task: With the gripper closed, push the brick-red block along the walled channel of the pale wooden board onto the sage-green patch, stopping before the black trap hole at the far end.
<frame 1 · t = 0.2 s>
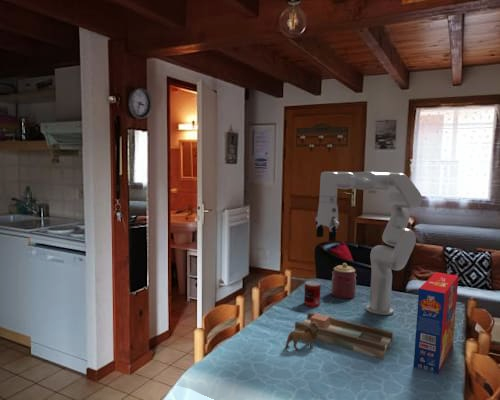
hand: (325, 238, 172), 37 cm above the table, tool pointing down, fingers open, 9 cm apart
channel board: (342, 339, 155), on the table
block: (320, 326, 160), point 3 cm above the table, touching channel board
lion figurine: (302, 347, 148), on the table
canned food: (311, 304, 194), on the table
canister: (343, 295, 210), on the table
pasta box: (434, 356, 144), on the table
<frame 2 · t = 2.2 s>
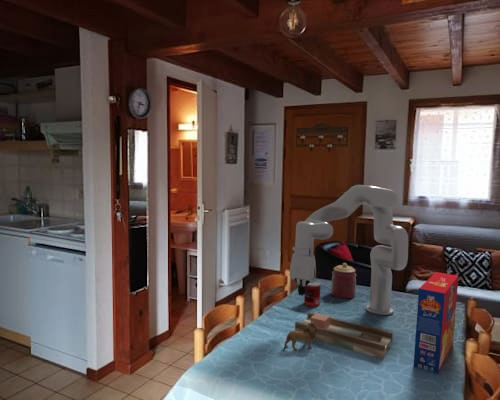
hand: (301, 294, 163), 15 cm above the table, tool pointing down, fingers closed
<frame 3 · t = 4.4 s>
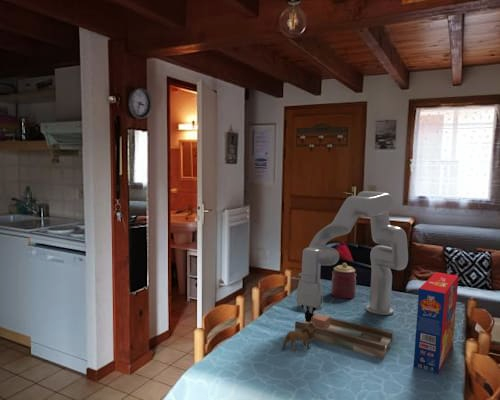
hand: (308, 320, 163), 4 cm above the table, tool pointing down, fingers closed
block: (320, 326, 160), point 3 cm above the table, touching channel board, gripper
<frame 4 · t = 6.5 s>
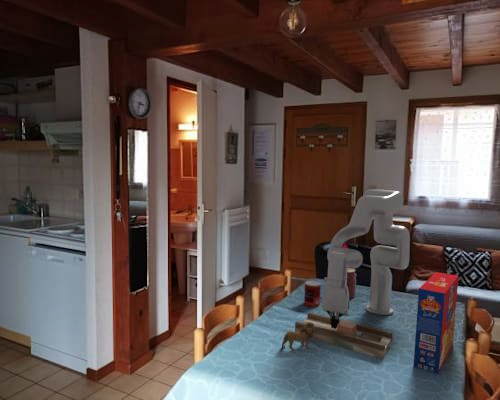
hand: (334, 327, 157), 4 cm above the table, tool pointing down, fingers closed
block: (346, 333, 154), point 3 cm above the table, touching gripper
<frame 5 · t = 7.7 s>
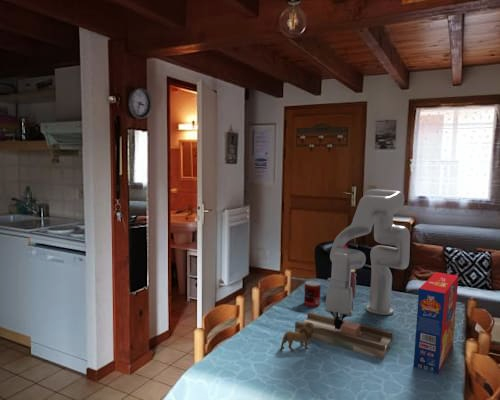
hand: (338, 328, 156), 4 cm above the table, tool pointing down, fingers closed
block: (350, 334, 153), point 3 cm above the table, touching channel board, gripper
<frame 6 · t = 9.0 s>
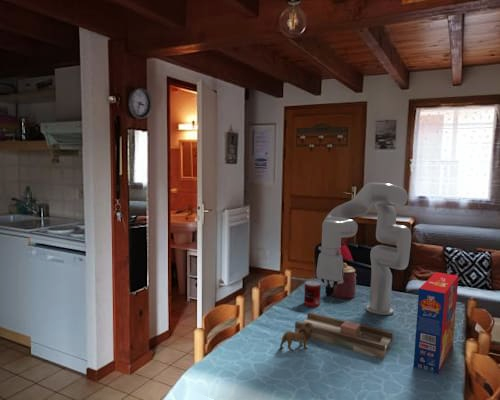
hand: (329, 295, 158), 17 cm above the table, tool pointing down, fingers closed
block: (350, 334, 153), point 3 cm above the table, touching channel board
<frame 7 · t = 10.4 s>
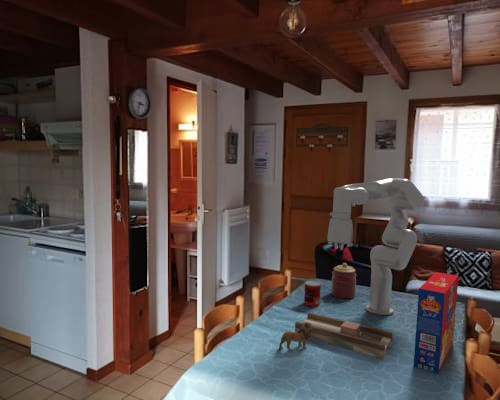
hand: (339, 258, 169), 29 cm above the table, tool pointing down, fingers closed
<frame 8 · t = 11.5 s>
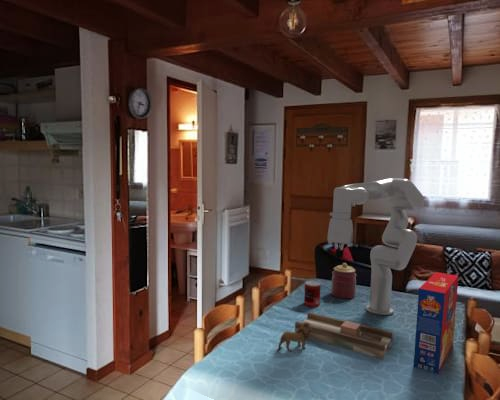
hand: (339, 258, 169), 29 cm above the table, tool pointing down, fingers closed
at the end: block 1.1 cm from the target spot, point 3.0 cm above the table; block tilted 0° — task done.
